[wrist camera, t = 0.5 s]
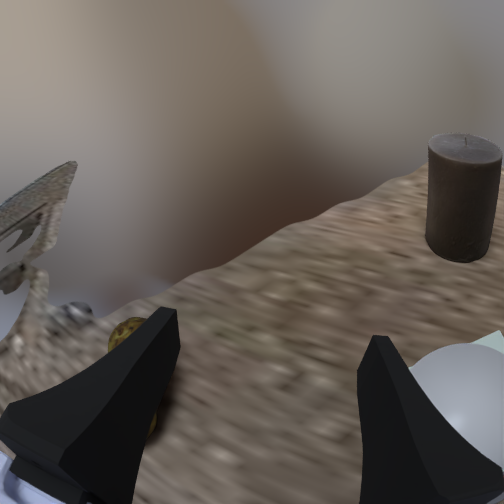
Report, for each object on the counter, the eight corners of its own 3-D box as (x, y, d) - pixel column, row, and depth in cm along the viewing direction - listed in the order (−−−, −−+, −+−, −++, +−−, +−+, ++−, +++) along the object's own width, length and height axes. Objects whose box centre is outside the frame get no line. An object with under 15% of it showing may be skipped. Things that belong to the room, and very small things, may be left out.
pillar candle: (470, 273, 33) (489, 161, 24) (411, 241, 40) (412, 136, 31) (498, 236, 36) (512, 136, 27) (445, 211, 43) (448, 117, 34)
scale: (553, 462, 13) (566, 454, 12) (408, 540, 15) (413, 541, 13) (493, 333, 26) (500, 319, 25) (367, 381, 28) (367, 370, 26)
